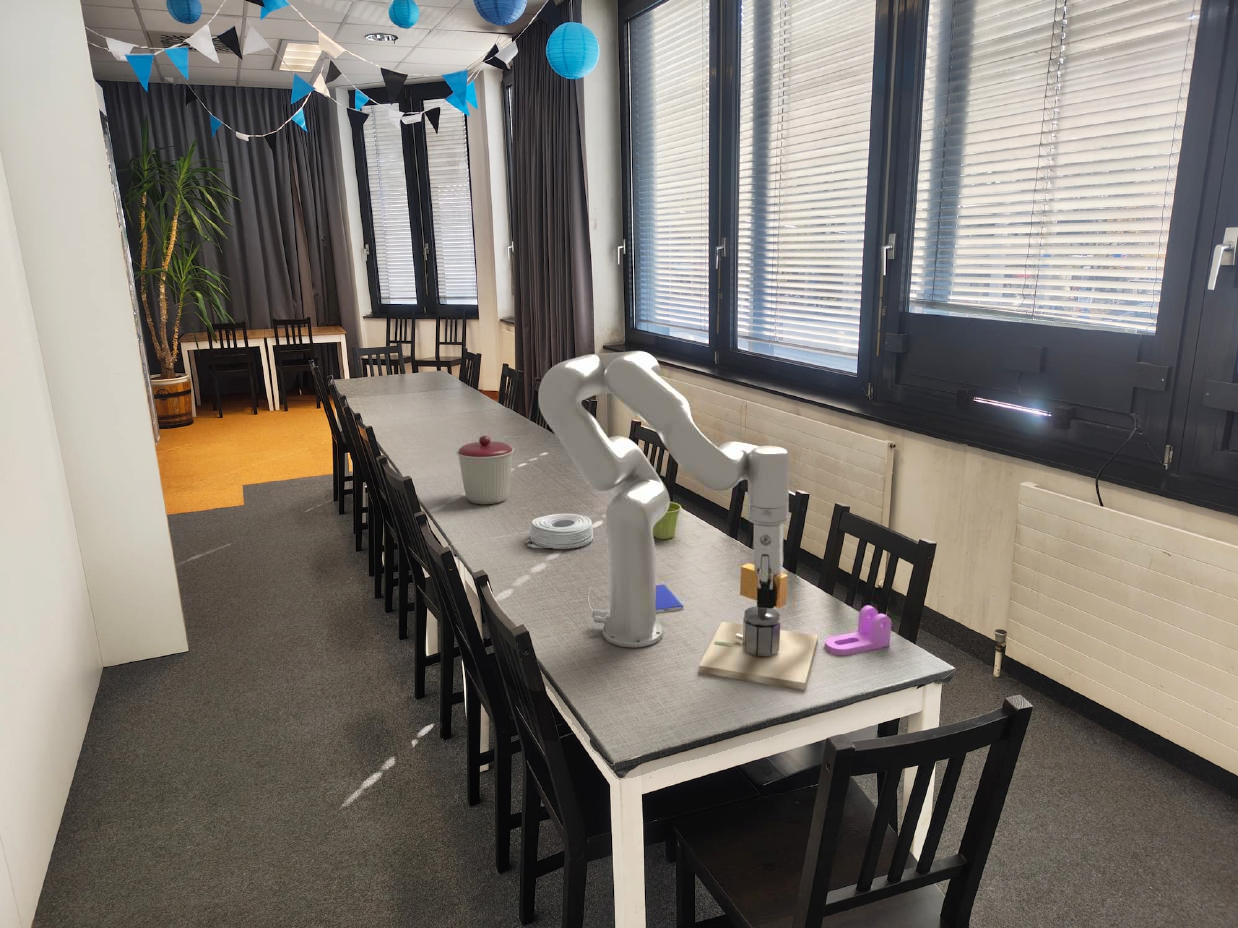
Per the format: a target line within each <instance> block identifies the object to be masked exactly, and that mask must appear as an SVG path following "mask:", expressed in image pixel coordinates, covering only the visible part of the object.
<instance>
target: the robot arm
mask: <svg viewBox="0 0 1238 928" xmlns="http://www.w3.org/2000/svg"><path fill="white" fill-rule="evenodd" d="M661 371H662V370H661V366H660V364H659V362H658V360H657V359H656V358H655V357H654V356H653V355H652V354H650V353H648V352H645V351H642V350H632V351H623V352H621V351H620V352H611V353H610V352H606V353H594V354H593V353H592V354H585V355H582V356H581V355H580V356H578V357H575V358H574V357H573V358H570V359H567V360H564V361H561V362H559V363H557V364H555V365H553V366H552V367H551V368H549V370H547V371H546V373H545V374H544V376H543V378H542V379H541V381H540V385H539V388H538V393H537V395H538V396H537V397H538V399H537V400H538V405H539V409H540V413H541V415H542V416H543V419H544V421H545V422H546V424H547V425H548V426H549V428H550V429H551V430H552V432H553V433H554V434H555V436H556V437H557V438H558V440H559V442H560V443H561V445H562V446H563V448H564V449H565V451H566V453H567V454H568V456H569V457H570V459H571V460H572V462H573V463H574V465H575V466H576V468H577V470H578V471H579V473H580V475H582V478H583V479H584V480H585V482H586V483H587V484H588V486H590V487H591V488H592V489H593V490H594V491H598V492H608V491H611V490H613V489H615V488H616V489H617V490H618V491H619V492H618V493H617V494H616V495H615V496H614V497H613V498H612V499H611V500H610V502H609V503H608V505H607V508H606V510H605V511H606V512H605V521H604V522H605V529H606V533H607V541H608V552H609V555H608V556H609V557H608V558H609V562H608V563H609V565H608V566H609V609H607V610H604V609H600V608H593V609H592V612H591V613H592V615H591V616H592V618H593V622H594V623H598V624H600V623H601V624H604V625H603V627H602V636H603V638H604V639H605V640H606V641H607V642H608V643H610V644H613V645H615V646H618V647H623V648H643V647H648V646H650V645H651V646H652V645H653V644H656V643H657V642H659V641H660V640H661V639H662V638H663V634H664V629H663V626H662V625H661V624H660V623H659V622H658V621H656V615H657V613H656V585H657V578H656V577H657V573H656V572H657V555H656V553H657V551H656V545H655V539H654V536H653V526H654V525H655V524H656V523H657V522H658V521H659V520H660V519H661V518H662V517H663V516H664V515H665V514H666V512H667V511H668V508H669V504H670V502H671V499H670V495H669V492H668V489H667V487H666V485H665V484H664V482H663V481H662V479H661V478H660V476H659V474H658V473H657V472H656V470H655V468H654V467H653V465H652V464H651V462H650V461H649V460H648V458H647V456H646V455H645V454H644V452H643V451H642V449H641V448H640V446H638V445H637V443H636V442H634V441H633V440H631V439H630V438H628V437H626V436H621V435H616V436H615V435H614V436H610V437H608V435H607V434H606V432H605V431H604V430H603V428H602V427H601V425H600V423H599V422H598V420H597V419H596V417H594V415H592V414H591V412H589V411H588V410H587V409H585V407H584V406H583V404H582V402H583V401H584V400H587V399H588V398H592V397H593V396H597V395H606V394H608V395H610V394H611V395H612V396H614V397H615V398H616V399H617V400H619V401H620V402H621V403H622V404H623V405H624V406H626V407H627V408H628V409H629V410H630V411H631V412H632V413H634V414H635V415H636V416H637V417H639V418H640V419H641V420H642V421H643V422H644V423H646V424H647V425H648V426H649V427H650V428H652V430H653V431H655V432H656V434H658V436H659V438H660V440H661V442H662V443H663V445H664V446H665V448H666V450H667V451H668V452H669V454H670V455H671V457H672V458H673V459H674V460H675V462H676V463H677V464H678V465H679V467H681V468H682V469H683V470H684V471H685V472H686V473H688V474H689V475H690V476H691V477H693V478H694V479H695V480H697V482H698V483H700V484H701V485H702V486H704V487H706V488H707V489H710V490H711V491H713V492H720V493H721V492H727V491H730V490H732V489H733V488H735V487H736V486H737V485H738V484H739V482H741V481H744V480H747V520H748V522H750V523H752V524H753V565H754V571H755V573H756V574H758V587H757V601H756V606H757V607H760V608H772V609H774V608H775V607H774V588H773V575H774V574H777V576H779V575H780V574H781V573H782V571H783V570H782V569H783V563H784V524H786V523H787V522H788V521H789V502H790V501H789V499H790V498H789V495H790V493H789V492H790V454H789V451H787V449H785V448H784V447H780V446H776V445H761V446H758V445H754V444H749V443H745V442H740V441H726V442H724V443H722V444H720V445H719V446H716V445H715V444H714V443H713V442H711V441H710V440H709V439H708V438H707V437H706V436H705V435H704V434H703V433H702V432H701V431H700V430H699V428H698V427H697V426H696V424H695V422H694V421H693V418H692V414H691V408H690V404H689V402H688V400H687V398H685V397H684V395H683V394H681V393H680V392H678V391H677V390H676V389H675V388H673V387H672V386H671V385H670V384H669V383H667V382H666V381H665V380H664V379H663V378H662V377H661V376H662V375H661V374H662V373H661ZM768 570H771V572H768ZM768 576H770V579H768Z"/></svg>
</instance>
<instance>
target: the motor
mask: <svg viewBox="0 0 1238 928" xmlns="http://www.w3.org/2000/svg"><path fill="white" fill-rule="evenodd" d="M768 572H771V570H768ZM768 579H770V576H768ZM757 587H758V574H756V573H755V571H754V563H753V564H752V563H749V562H747V563H745V564H743V565H741V566H740V585H739V589H740V591H739V592H740V593H739V596H742V597H745V598H748V599H751V600H754V601H756V602H757ZM773 588H774V608H777V609H780V608H782V607H784V606H785V605H787V594H788V593H787V589H788V575H787V574H785V573H782V572H781V574H780V575H779V576H777V574H774V575H773ZM774 608H760V607H757V605H756V606H752V607H748V608H747V609H745V610H744V612H743V613H744V614H743V618H742V619H743V621H742V622H743V623H742V625H743V635H741V634H739V633H737V634H736V636H735V638H736V639H739V640H741V641H743V643H742V645H743V648H744V651H745V652H748V653H750V654H753V655H755V656H770V655H773V654H775V653H777V652H778V651H779V642H780V630H781V621H780V618H781V617H780V616H781V614H780V612H779V611H778V610H776V609H774Z"/></svg>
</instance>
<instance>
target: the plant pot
mask: <svg viewBox="0 0 1238 928" xmlns="http://www.w3.org/2000/svg"><path fill="white" fill-rule="evenodd" d="M681 510H682V506H681V504H679V503H677V502H673V501H670V504H669V508H668V511H667V512H666V514H665V515H664V516H663V517H662V518H661V519H660V520H659V521H658V522H657V523H656V524H655V525H654V526H653V538H654V537H655V538H656V539H659V540H668V539H671V538H674V537H676V529H677V522H678V518H679V514H680V511H681Z"/></svg>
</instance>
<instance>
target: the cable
mask: <svg viewBox="0 0 1238 928" xmlns="http://www.w3.org/2000/svg"><path fill="white" fill-rule="evenodd" d="M529 532H530V539H527V540H526V541H524V542H525V544H526V546H527V547H528V548H530V547H531V549H538V548H539V549H541V548H553V549H554V550H556V549H557V550H565V549H576V548H581V547H585V546H588V544H590V543H591V542H592V540H593V538H594V528H593V522H592V520H591V518H589V517H588V516H585V515H582V514H577V513H555V514H554V513H553V514H549V515H545V516H539V517H537V518H534V519H533V520H532V521H531V529H530V531H529ZM531 543H532V544H531ZM553 549H552V550H553Z"/></svg>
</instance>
